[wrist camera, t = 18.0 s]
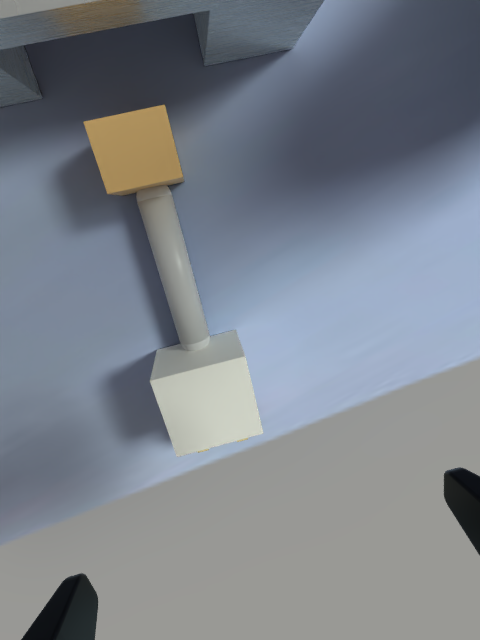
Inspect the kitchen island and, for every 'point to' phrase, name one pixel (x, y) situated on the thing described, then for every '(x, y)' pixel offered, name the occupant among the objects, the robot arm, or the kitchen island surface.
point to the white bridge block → (138, 7)
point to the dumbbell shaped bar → (177, 290)
